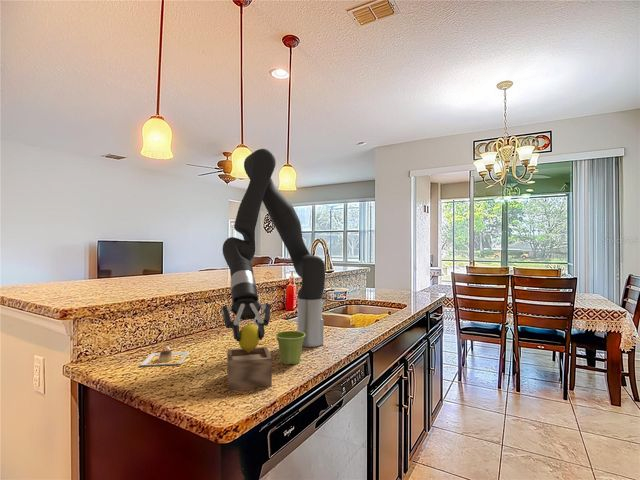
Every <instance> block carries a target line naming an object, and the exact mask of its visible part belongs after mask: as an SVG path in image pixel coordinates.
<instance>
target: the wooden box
mask: <svg viewBox="0 0 640 480" xmlns="http://www.w3.org/2000/svg"><path fill="white" fill-rule="evenodd" d="M226 362H227V366H226V369H227V371H226V377H227V390H228V391H229V392H230V391H239V390H249V389H258V388H266V387H272V385H273V384H272V383H273V382H272V381H273V358H272V355H271V353H270V351H269V349H268V347H267V346H256V348H255V349H253V350H251V351H250V352H249V353H248V352H247V351H245V350H243V349H242V348H241V347H240V348H229V349H227V361H226Z"/></svg>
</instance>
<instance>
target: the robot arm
mask: <svg viewBox="0 0 640 480" xmlns="http://www.w3.org/2000/svg"><path fill="white" fill-rule="evenodd" d="M276 162H277V161H276V157H275V156H274V154H273V152H271V151H270V150H269V149H268V148H260V149H257V150H255V151H253V152H252V153H250V154H249V155H248V156H246V157H245V159H244V162H243V167H244V171H245V172H244V173H245V174H246V175H247V177H248V179H249V183H248V186H247V188H246V191H245V193H244V195H243V197H242V199H241V202H240V204H239V207H238V210H237V213H236V216H235V217H236V218H235V220H234V225H233V229H234V230H235V231H236V232H238V233H239V234H240V235H242V237H243V239H242V238H238V237H233V236H231V237H230V236H229V237H228V238H226V239H225V241H224V242H223V244H222V254H223V258H224V260H225V262H226V264H227V266H228V268H229V272H230V294H231V306H227V305H223V306H221V308H222V309H221V315H222V319H223V322H224V325H225V329H232V333H233V334H232V336H233V339H234V340H236V342H239V341H240V325H239V324H240V323H241V321H243V320H244V321H245V320H252V321H253V323H254V324H256V326H257V330H258V333H259V341H261V340H263V339H264V337H265V335H266V334H265V333H266V331H265V327H268V325H269V324H270V319H271V304H270V303H266V305H265V304H261V302H260V301H259V295H258V289H257V283H256V278H255V276H254V268H253V264H252V262H251V261H252V260H253V258H254V257H255V255H256V227H257V222H258V220H259V215H260V214H259V213H260V211H261V207H262V203H263V205H264V207H265V209H266V211H267V212H268V215H269V217H270V219H271V221H272V224H273V226H274V227H275V229H276V231H277V233H278V235H279V237H280V239H281V241H282V242H283V244H284V246H285V248H286V250H287V252H288V254H289V256H290V260H291V263H292V265H293V268H294V271H295V273H296V274H297V275H298V277H299V278H301V287H300V289H298V291H297V324H296V325H297V326H296V327H297V330H296V331H298V332H303V333H305V337H304V340H303V343H302V348H303V347H304V348H305V347H306V348H316V347H319V346H323V345H324V326H325V325H324V321H325V319H324V318H323V293H324V291H325V281H326V280H325V279H326V266H325V265H326V264H325V262H324V261H323V259H322V258H321V257H320V256H317V255H312V254H311V253H310V251H309V250H308V247H307V246H306V243H305V241H304V239H303V231H302V225H301V221H300V218H299V215H298V214H297V212H296V210H295V208H294V206H293V205H292V202H290V200H289V199H288V198H287V197H286V196H285V195H284V193H282V192H280V190H279V189H278V188H277V187H276V185H275V183H274V181H273V179H272V175H273V173H274V171H275V168H276V164H277V163H276ZM260 310H261V312H262V313H263V315H264V318H262V317H261V314H260V312H259V311H260ZM231 312H232V313H233V314H234V315H235V318H234V321H232V320H231V317H230V314H231Z"/></svg>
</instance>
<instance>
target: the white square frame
mask: <svg viewBox="0 0 640 480" xmlns="http://www.w3.org/2000/svg"><path fill="white" fill-rule="evenodd" d="M189 352H190V351H172V350H171V348H170V347H169V346H166V347H165V348H164V349H162V350H161V351H160V352H151V353H150V354H149V355H148V356H147V357H146V358H144V360H143V361H142V362H141V363H140V364H139V367H151V366H153V367H154V366H155V367H156V366H172V365H173V366H175V365H177V366H178V365H180V364H181V365H182V363H183V361H184V360H185V358H186V357H187V355H188V354H189ZM181 354H183V355H181ZM155 355H160V356H158V360H157V361H158V362H160V363H154V364H153V363H150V364H148V363H149V362H150V361H151V360H152V359H153V358H154V357H156V356H155ZM180 355H181V356H182V357H181V359H180V360H179V361H178V362H173V363H170V362H171V360H172V361H173V360H174V356H180ZM153 356H154V357H153ZM168 362H169V363H168Z"/></svg>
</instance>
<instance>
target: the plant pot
mask: <svg viewBox="0 0 640 480" xmlns="http://www.w3.org/2000/svg"><path fill="white" fill-rule="evenodd" d="M304 337H305V333H303V332H298V331H297V330H287V331H280V332H277V333H276V334H275V338H276V341H277V343H278V350H279V351H278V352H279V358H280V360H279V361H280V362H281V364H283V365H298V364H299V363H300V362H301V357H302V356H301V355H302V349H303V346H302V343H303V340H304Z"/></svg>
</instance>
